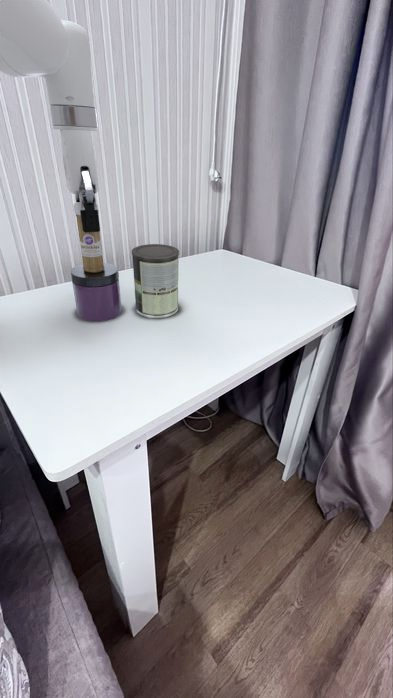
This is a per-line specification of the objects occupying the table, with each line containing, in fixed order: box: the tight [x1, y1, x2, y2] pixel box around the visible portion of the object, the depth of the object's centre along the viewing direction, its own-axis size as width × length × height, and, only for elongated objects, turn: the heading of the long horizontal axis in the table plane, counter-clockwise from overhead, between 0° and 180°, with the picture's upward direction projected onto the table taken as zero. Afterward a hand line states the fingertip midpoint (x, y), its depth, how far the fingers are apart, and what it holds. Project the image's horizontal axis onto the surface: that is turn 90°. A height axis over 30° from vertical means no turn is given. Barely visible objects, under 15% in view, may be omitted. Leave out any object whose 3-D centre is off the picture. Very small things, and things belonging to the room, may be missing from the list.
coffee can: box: [131, 243, 180, 319], centre depth 76 cm, size 10×10×14 cm
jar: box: [71, 277, 123, 322], centre depth 75 cm, size 10×10×10 cm
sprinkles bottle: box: [73, 202, 105, 273], centre depth 68 cm, size 5×5×13 cm
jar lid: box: [69, 262, 120, 287], centre depth 72 cm, size 10×10×2 cm
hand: (88, 226), depth 67 cm, fingers open, 6 cm apart
